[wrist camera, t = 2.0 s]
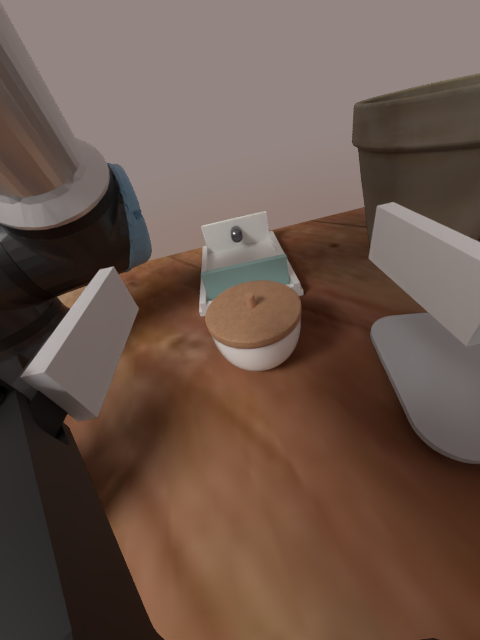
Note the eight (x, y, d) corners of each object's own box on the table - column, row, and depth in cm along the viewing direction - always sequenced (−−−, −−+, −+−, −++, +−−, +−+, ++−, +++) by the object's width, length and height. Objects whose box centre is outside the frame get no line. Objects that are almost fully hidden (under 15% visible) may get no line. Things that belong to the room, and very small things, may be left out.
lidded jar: (224, 328, 37) (207, 275, 31) (296, 319, 35) (293, 262, 29) (217, 391, 29) (192, 336, 23) (310, 383, 27) (310, 322, 21)
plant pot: (430, 208, 53) (474, 68, 39) (564, 256, 34) (739, 20, 20) (320, 236, 53) (323, 107, 39) (393, 300, 34) (451, 95, 20)
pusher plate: (288, 284, 40) (286, 256, 37) (209, 301, 41) (200, 275, 37) (287, 281, 41) (285, 253, 37) (209, 297, 41) (200, 272, 38)
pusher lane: (303, 295, 39) (302, 255, 34) (200, 316, 40) (186, 280, 35) (275, 240, 56) (272, 209, 51) (203, 256, 57) (194, 227, 52)
